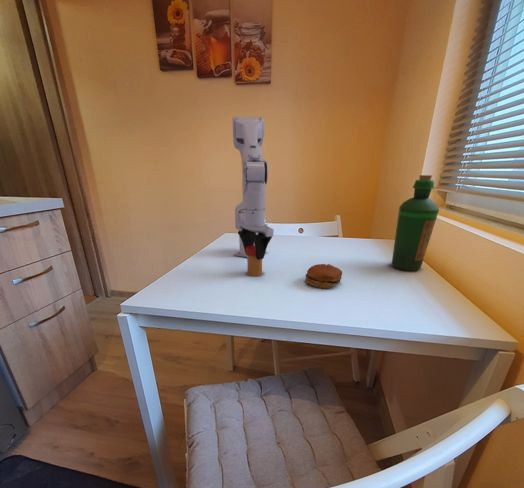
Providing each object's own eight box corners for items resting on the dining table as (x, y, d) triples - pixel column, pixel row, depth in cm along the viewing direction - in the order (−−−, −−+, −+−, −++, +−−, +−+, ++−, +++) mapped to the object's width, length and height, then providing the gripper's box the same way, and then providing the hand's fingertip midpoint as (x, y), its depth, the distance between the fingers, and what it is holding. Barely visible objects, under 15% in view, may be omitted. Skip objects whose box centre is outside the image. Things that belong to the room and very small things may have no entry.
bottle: (430, 273, 86) (456, 176, 75) (395, 272, 86) (416, 175, 75) (414, 262, 96) (434, 175, 85) (382, 261, 96) (399, 174, 85)
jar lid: (242, 253, 82) (242, 246, 81) (256, 250, 85) (256, 244, 84) (252, 257, 78) (252, 250, 77) (266, 254, 81) (267, 247, 80)
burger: (309, 289, 73) (310, 272, 72) (302, 276, 82) (304, 261, 80) (346, 289, 74) (348, 272, 72) (335, 276, 82) (337, 261, 81)
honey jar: (251, 270, 87) (251, 246, 84) (264, 272, 85) (264, 248, 82) (244, 274, 83) (244, 250, 80) (258, 277, 81) (258, 252, 78)
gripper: (282, 211, 73) (281, 260, 79) (251, 205, 84) (251, 249, 89) (261, 213, 69) (261, 264, 75) (231, 207, 80) (232, 252, 85)
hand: (254, 256), depth 82 cm, fingers closed on jar lid, 5 cm apart
